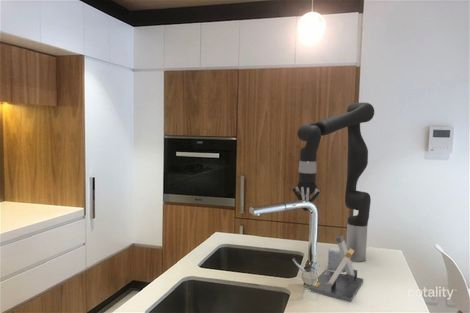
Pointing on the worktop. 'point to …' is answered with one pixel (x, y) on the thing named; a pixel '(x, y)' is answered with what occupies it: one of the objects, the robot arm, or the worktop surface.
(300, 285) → the worktop surface
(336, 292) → the switch panel
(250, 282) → the worktop surface
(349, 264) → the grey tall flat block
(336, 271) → the white rocker
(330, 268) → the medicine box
